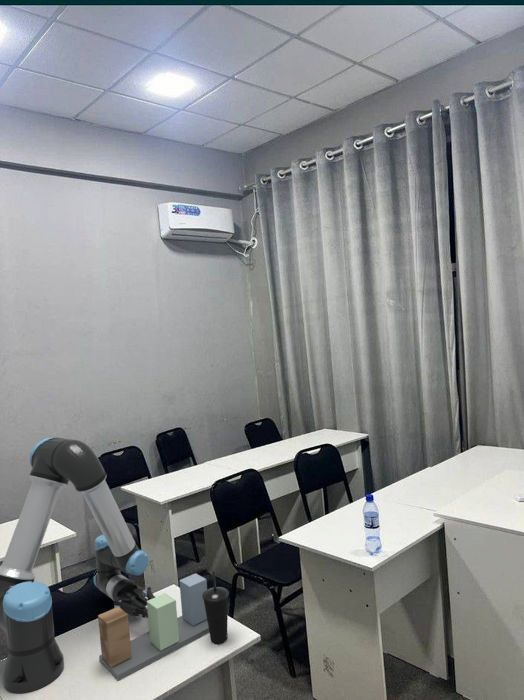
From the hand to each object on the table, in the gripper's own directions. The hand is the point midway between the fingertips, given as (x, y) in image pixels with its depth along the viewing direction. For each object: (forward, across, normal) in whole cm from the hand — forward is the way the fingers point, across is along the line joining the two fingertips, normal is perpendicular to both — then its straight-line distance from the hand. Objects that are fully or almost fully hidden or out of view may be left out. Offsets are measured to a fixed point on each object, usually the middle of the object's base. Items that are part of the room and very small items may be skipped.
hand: (158, 617), depth 151 cm
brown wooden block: (0, +13, -6) cm, 15 cm away
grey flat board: (+1, 0, -7) cm, 7 cm away
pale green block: (+3, 0, -6) cm, 7 cm away
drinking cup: (+12, -12, -8) cm, 19 cm away
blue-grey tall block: (0, -13, -6) cm, 14 cm away
